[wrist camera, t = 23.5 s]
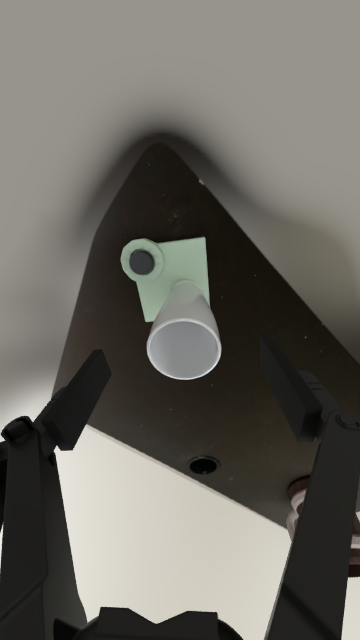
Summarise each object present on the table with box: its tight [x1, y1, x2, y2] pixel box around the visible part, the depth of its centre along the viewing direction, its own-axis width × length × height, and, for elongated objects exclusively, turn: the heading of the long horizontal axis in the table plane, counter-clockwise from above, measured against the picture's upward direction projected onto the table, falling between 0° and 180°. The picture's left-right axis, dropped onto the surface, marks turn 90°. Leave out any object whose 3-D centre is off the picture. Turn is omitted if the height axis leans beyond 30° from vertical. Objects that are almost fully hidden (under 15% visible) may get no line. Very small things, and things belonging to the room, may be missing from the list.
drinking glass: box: [147, 280, 221, 380], centre depth 24 cm, size 7×7×15 cm
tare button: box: [129, 251, 153, 275], centre depth 27 cm, size 3×3×2 cm
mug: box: [286, 477, 360, 577], centre depth 50 cm, size 20×15×15 cm
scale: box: [121, 237, 210, 322], centre depth 30 cm, size 13×12×3 cm
